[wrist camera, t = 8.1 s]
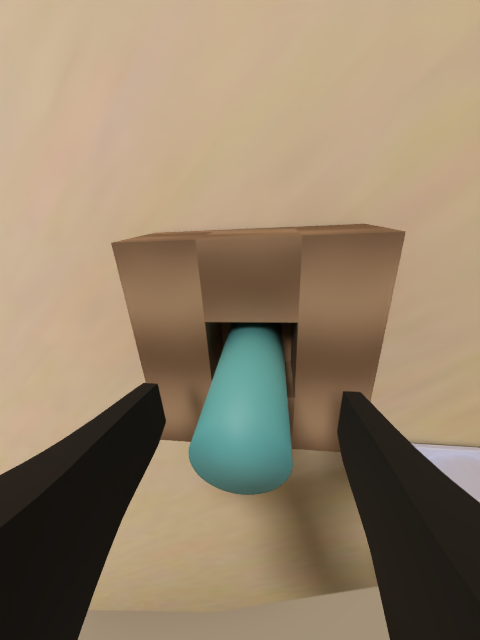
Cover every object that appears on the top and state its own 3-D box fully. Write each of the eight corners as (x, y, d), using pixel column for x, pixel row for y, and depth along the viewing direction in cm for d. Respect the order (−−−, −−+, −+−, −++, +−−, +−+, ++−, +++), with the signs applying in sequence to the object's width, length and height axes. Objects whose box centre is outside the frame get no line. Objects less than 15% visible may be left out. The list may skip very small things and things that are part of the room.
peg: (281, 353, 16) (290, 499, 8) (232, 351, 17) (194, 489, 9) (282, 307, 15) (295, 425, 7) (229, 306, 15) (182, 418, 7)
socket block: (340, 398, 18) (359, 453, 14) (183, 392, 20) (160, 439, 16) (365, 223, 14) (405, 231, 10) (154, 232, 15) (111, 242, 11)
